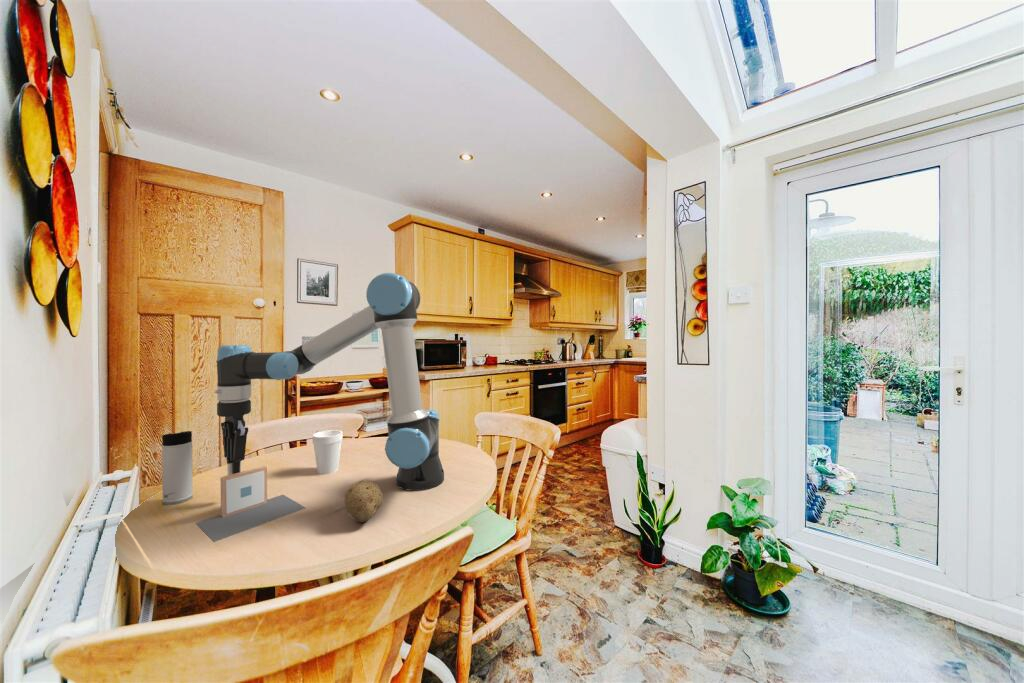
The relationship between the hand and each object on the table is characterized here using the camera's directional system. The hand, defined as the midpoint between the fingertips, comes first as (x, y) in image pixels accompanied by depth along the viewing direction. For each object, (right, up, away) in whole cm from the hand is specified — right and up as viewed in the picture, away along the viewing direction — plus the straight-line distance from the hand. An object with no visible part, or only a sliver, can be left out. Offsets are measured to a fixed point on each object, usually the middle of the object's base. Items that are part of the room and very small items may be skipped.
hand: (234, 484), depth 101 cm
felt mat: (+10, -6, -7) cm, 14 cm away
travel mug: (-17, -6, +1) cm, 18 cm away
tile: (+6, -5, -4) cm, 9 cm away
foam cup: (+14, -5, +25) cm, 29 cm away
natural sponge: (+40, -6, -9) cm, 41 cm away
